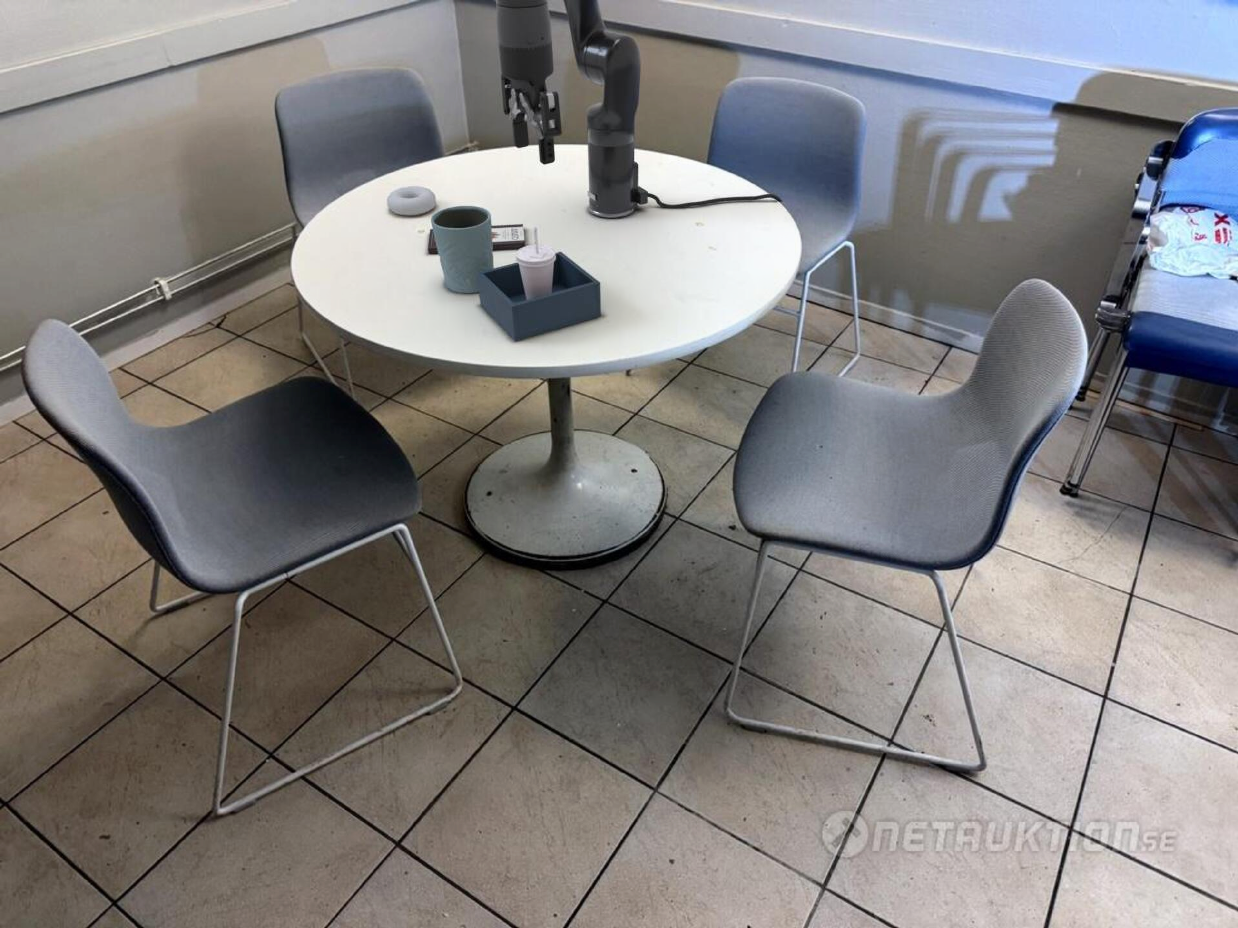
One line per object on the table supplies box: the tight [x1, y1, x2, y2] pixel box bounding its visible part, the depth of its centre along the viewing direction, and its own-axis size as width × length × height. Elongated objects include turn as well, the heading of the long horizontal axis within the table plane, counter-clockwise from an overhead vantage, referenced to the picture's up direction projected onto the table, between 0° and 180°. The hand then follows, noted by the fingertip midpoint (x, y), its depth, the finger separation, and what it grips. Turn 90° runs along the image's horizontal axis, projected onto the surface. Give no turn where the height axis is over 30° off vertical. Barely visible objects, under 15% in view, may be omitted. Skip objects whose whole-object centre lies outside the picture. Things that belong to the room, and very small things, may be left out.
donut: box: [386, 185, 437, 216], centre depth 172 cm, size 10×4×10 cm
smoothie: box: [515, 226, 556, 300], centre depth 134 cm, size 6×6×14 cm
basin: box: [477, 251, 602, 342], centre depth 137 cm, size 16×14×6 cm
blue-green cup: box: [430, 205, 495, 294], centre depth 143 cm, size 10×10×12 cm
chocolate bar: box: [427, 223, 526, 254], centre depth 160 cm, size 9×1×18 cm
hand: (534, 154), depth 127 cm, fingers open, 8 cm apart
